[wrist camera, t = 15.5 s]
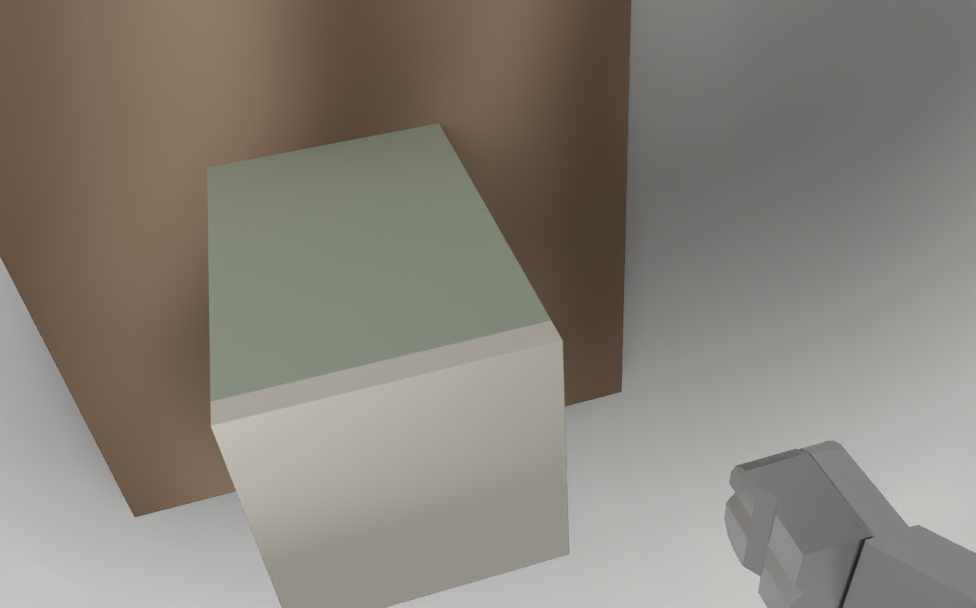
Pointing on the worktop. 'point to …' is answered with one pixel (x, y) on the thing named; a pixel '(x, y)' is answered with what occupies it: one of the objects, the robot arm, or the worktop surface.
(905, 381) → the worktop surface
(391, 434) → the sage block
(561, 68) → the walnut pad
